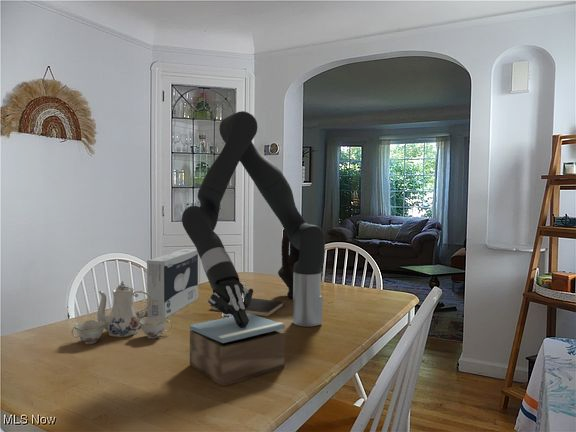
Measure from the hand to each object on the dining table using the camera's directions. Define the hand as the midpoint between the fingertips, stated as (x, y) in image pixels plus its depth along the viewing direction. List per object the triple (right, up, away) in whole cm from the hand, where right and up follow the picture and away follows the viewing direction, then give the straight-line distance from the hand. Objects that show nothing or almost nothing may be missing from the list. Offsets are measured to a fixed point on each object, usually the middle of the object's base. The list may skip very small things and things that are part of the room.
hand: (244, 325), depth 111 cm
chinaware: (-39, -10, +26) cm, 48 cm away
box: (-2, -11, +4) cm, 12 cm away
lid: (-2, -2, +3) cm, 4 cm away
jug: (+15, -7, +77) cm, 79 cm away
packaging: (-32, -8, +59) cm, 67 cm away
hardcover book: (-5, -8, +60) cm, 61 cm away
